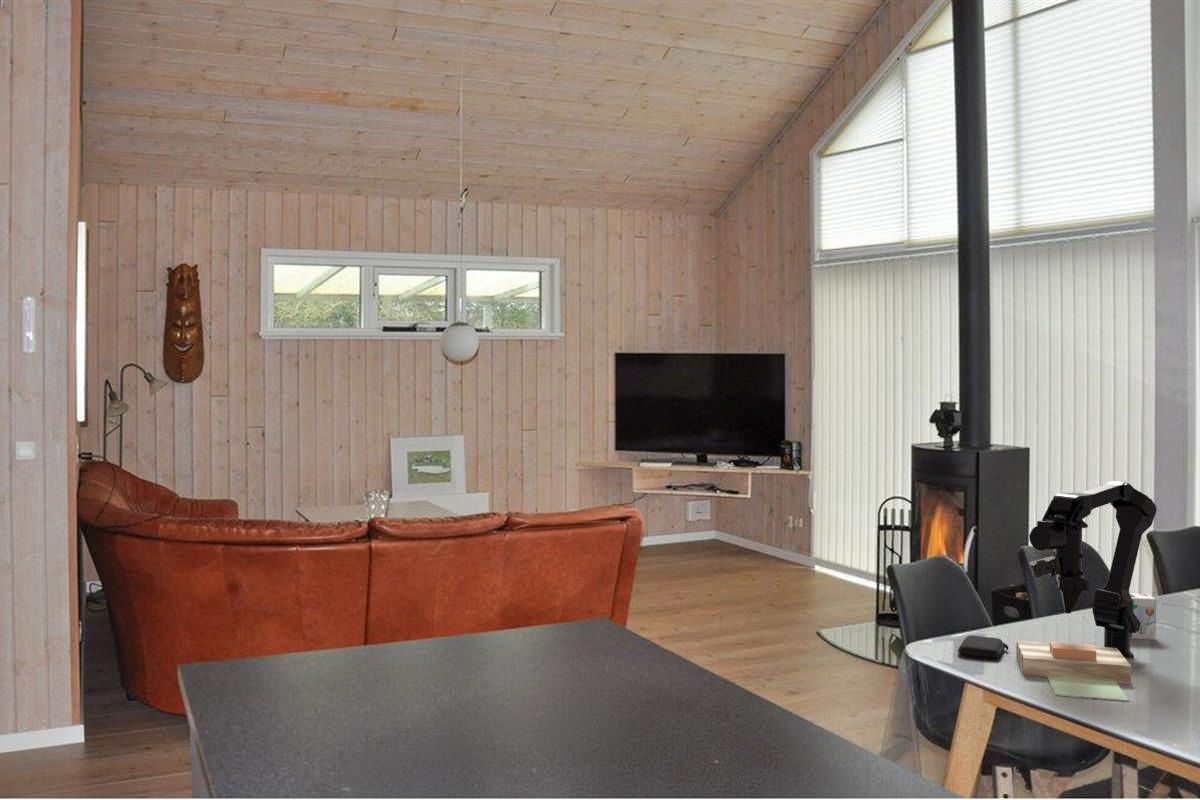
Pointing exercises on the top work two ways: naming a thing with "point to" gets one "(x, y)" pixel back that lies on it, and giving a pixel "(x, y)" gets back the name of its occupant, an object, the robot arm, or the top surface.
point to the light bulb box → (1144, 616)
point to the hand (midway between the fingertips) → (1067, 613)
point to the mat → (1087, 688)
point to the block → (1072, 650)
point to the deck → (1072, 663)
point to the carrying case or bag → (982, 648)
